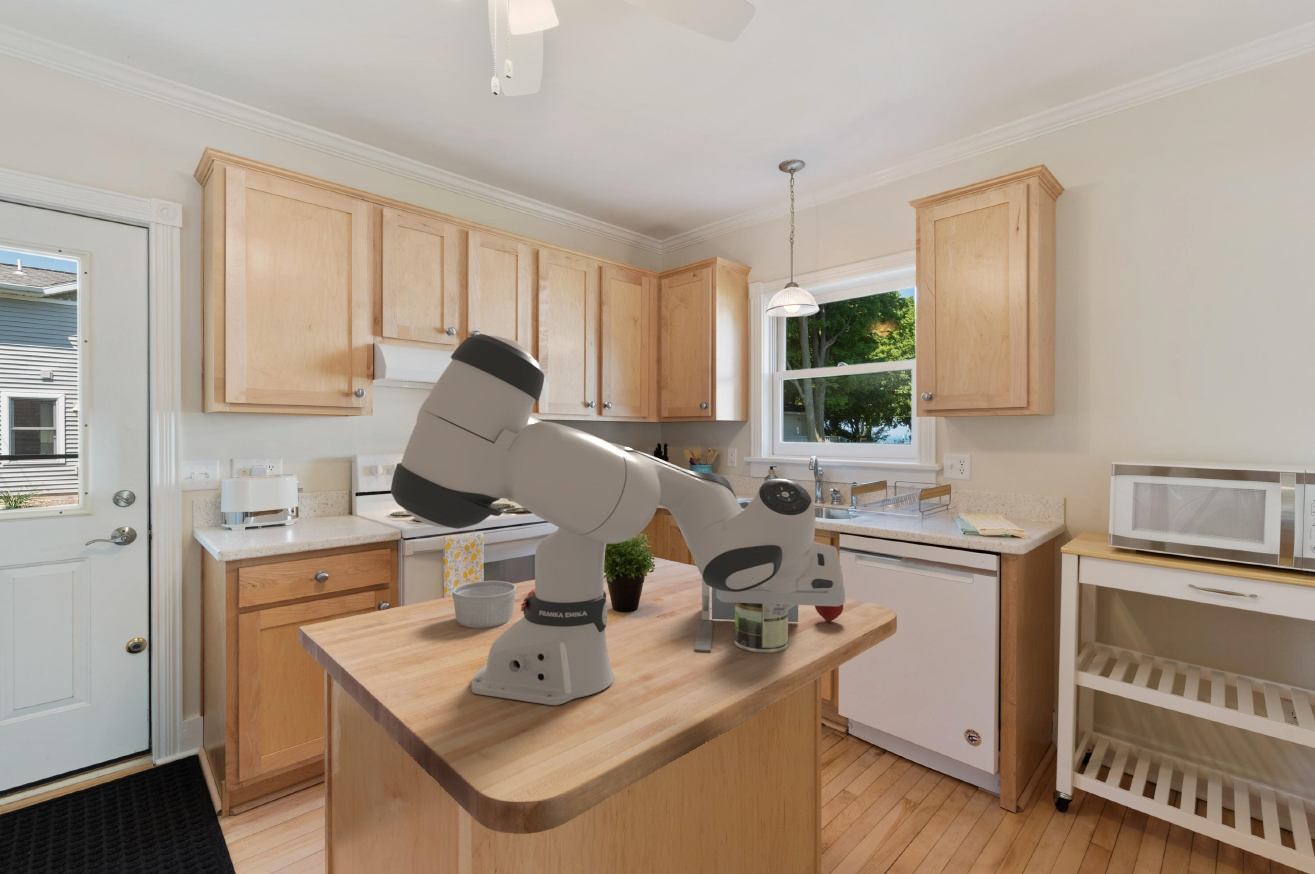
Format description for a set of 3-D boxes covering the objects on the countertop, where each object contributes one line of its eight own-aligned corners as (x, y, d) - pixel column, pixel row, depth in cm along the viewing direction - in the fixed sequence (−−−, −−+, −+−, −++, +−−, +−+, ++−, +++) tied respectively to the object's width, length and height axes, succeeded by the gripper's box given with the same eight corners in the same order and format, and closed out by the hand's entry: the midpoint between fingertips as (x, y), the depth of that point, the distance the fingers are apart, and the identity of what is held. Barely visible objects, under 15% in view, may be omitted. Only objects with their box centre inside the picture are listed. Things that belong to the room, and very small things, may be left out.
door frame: (694, 651, 114) (694, 564, 114) (700, 607, 142) (700, 537, 141) (710, 651, 114) (710, 565, 113) (713, 608, 141) (713, 538, 141)
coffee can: (733, 651, 114) (733, 575, 114) (734, 633, 124) (734, 563, 124) (790, 654, 112) (791, 577, 112) (787, 635, 123) (787, 564, 122)
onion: (840, 617, 134) (840, 581, 134) (845, 626, 128) (845, 587, 128) (812, 617, 135) (812, 580, 134) (817, 625, 129) (817, 587, 129)
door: (711, 621, 130) (711, 554, 130) (711, 617, 133) (712, 552, 133) (798, 624, 128) (799, 556, 128) (797, 620, 131) (797, 554, 131)
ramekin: (526, 623, 131) (525, 590, 131) (463, 635, 123) (463, 600, 123) (503, 607, 142) (503, 577, 142) (444, 618, 134) (444, 586, 134)
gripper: (711, 578, 94) (715, 625, 103) (851, 582, 91) (842, 630, 100) (713, 544, 98) (716, 592, 108) (846, 547, 95) (838, 596, 105)
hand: (778, 610), depth 104 cm, fingers closed
